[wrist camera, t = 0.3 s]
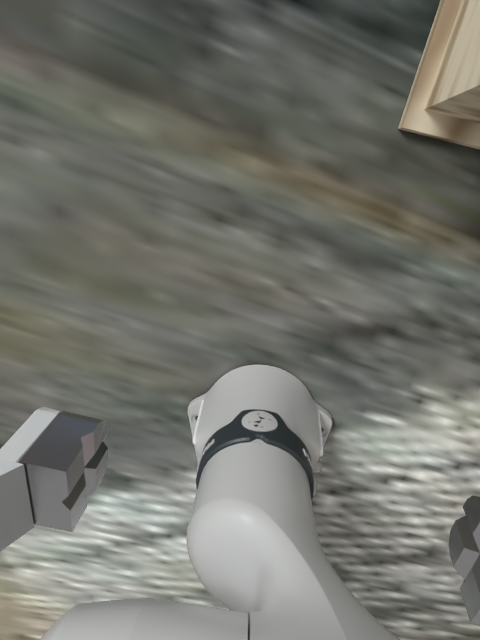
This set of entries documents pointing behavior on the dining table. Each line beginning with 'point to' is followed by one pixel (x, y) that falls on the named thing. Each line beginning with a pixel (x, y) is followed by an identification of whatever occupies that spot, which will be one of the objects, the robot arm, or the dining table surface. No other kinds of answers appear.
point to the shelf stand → (448, 78)
